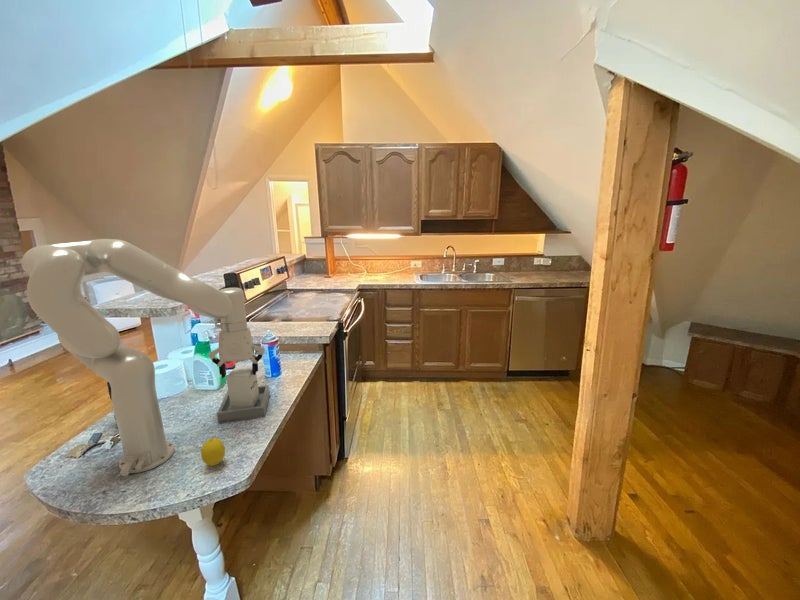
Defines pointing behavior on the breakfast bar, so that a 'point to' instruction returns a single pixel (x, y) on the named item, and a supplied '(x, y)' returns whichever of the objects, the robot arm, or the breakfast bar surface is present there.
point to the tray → (247, 413)
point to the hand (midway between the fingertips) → (239, 374)
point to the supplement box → (242, 388)
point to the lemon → (213, 451)
